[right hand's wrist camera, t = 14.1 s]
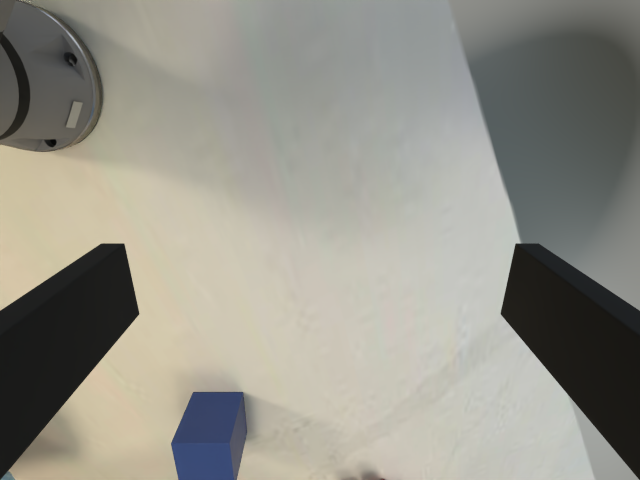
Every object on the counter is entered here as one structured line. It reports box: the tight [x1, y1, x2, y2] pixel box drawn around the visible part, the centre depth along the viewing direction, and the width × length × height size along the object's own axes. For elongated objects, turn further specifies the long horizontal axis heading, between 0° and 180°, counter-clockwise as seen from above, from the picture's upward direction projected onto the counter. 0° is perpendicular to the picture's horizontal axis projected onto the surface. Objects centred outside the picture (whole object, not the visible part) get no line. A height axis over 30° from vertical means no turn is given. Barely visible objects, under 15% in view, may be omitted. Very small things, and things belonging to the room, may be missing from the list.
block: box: [171, 392, 247, 480], centre depth 55 cm, size 9×8×9 cm
